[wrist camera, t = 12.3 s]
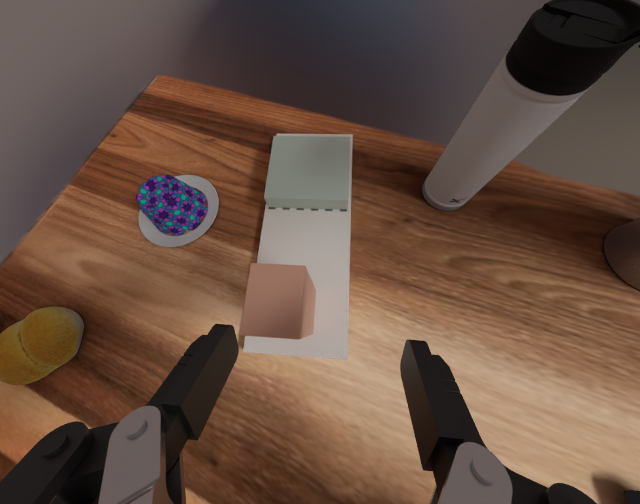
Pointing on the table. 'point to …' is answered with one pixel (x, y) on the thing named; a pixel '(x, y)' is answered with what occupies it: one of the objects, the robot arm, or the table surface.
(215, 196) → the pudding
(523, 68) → the travel mug
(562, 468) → the table surface
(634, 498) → the plate of glazed chicken
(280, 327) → the stub
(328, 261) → the ticket board
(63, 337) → the bread roll
